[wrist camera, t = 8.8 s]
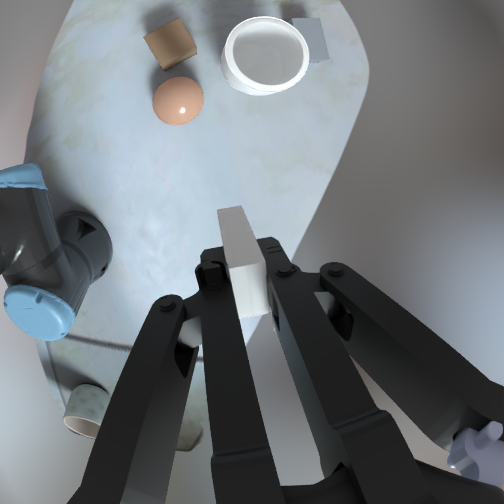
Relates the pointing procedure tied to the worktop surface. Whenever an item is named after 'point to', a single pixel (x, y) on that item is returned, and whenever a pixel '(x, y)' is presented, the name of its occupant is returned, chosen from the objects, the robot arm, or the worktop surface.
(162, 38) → the walnut block
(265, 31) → the jar
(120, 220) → the worktop surface
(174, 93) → the glossy peach dome
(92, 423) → the planter
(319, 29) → the slate block
